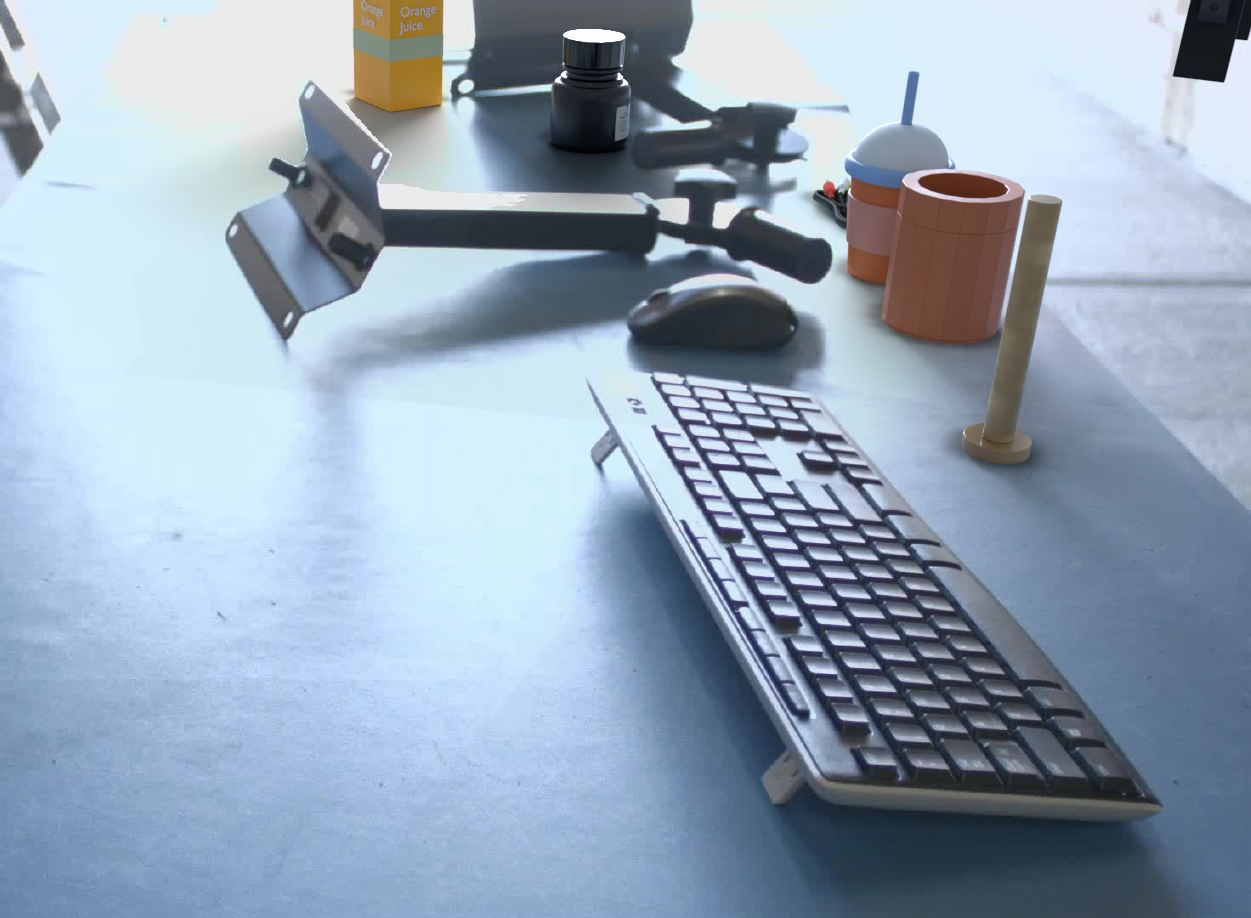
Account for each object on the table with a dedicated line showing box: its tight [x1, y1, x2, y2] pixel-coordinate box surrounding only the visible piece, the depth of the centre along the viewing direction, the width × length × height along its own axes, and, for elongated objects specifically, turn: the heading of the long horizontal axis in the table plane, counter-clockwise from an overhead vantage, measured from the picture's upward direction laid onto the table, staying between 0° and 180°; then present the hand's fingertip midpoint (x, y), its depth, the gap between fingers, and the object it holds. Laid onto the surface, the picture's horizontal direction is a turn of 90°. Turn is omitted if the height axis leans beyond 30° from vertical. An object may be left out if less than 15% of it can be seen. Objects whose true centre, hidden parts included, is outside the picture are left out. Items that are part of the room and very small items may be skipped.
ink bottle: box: [548, 29, 632, 152], centre depth 170 cm, size 10×9×12 cm
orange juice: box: [352, 0, 444, 113], centre depth 184 cm, size 8×9×20 cm
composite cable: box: [811, 176, 851, 228], centre depth 150 cm, size 10×5×2 cm, turn 168°
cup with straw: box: [844, 70, 956, 285], centre depth 130 cm, size 9×9×18 cm
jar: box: [880, 168, 1026, 345], centre depth 121 cm, size 9×9×12 cm
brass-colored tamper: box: [960, 194, 1063, 465], centre depth 99 cm, size 4×4×18 cm
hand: (1212, 57), depth 92 cm, fingers open, 13 cm apart
